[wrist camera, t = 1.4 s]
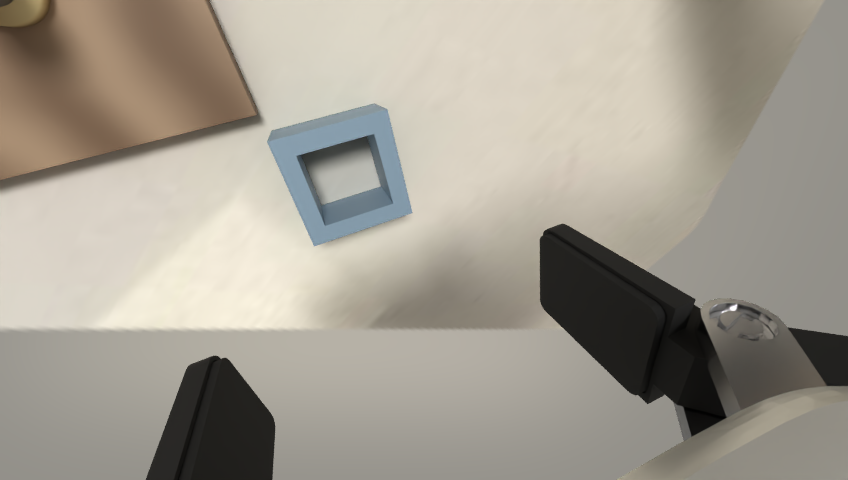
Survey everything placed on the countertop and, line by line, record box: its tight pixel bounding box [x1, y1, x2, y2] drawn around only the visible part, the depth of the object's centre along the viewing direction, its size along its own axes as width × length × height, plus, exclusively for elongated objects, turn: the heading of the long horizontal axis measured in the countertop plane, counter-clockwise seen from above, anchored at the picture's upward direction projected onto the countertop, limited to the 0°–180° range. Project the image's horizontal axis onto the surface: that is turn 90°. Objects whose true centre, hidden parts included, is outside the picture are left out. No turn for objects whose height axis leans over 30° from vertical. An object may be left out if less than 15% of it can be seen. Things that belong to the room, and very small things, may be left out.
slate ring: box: [267, 104, 412, 246], centre depth 23 cm, size 7×7×4 cm
